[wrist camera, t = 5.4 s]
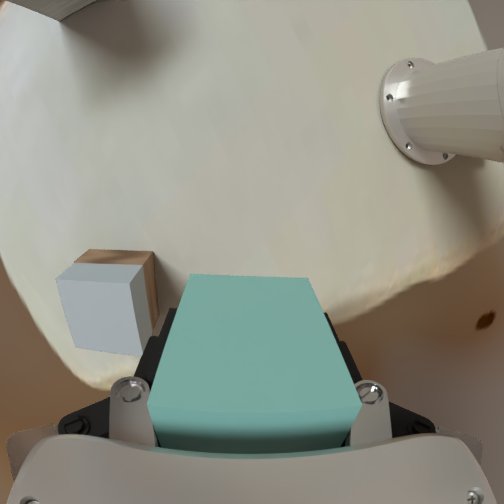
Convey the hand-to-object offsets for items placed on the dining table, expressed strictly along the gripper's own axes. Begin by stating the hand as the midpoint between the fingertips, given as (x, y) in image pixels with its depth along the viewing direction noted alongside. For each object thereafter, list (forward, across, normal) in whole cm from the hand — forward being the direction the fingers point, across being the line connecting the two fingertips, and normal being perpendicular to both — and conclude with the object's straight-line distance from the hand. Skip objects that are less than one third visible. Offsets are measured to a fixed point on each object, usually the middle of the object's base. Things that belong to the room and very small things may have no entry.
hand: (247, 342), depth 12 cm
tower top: (+15, +14, +7) cm, 21 cm away
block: (+1, 0, 0) cm, 1 cm away
